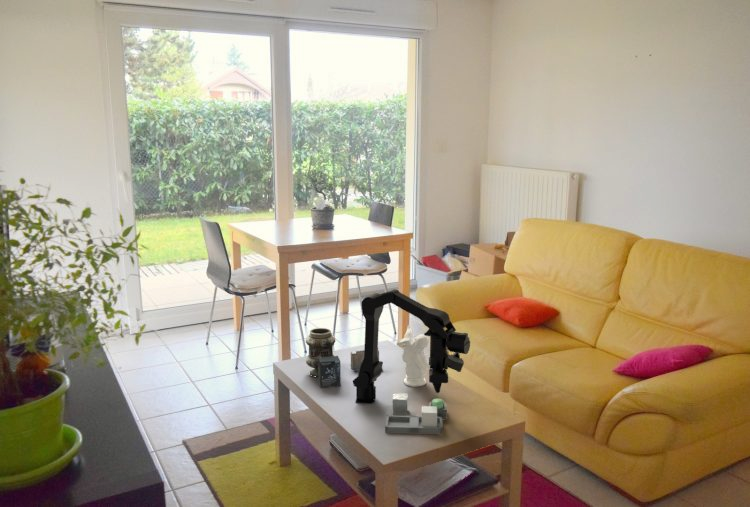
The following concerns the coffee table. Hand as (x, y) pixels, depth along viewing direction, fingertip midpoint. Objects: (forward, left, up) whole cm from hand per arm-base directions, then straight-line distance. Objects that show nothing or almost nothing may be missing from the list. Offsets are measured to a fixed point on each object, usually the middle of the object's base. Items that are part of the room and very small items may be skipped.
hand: (437, 392), depth 224 cm
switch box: (0, 0, -8) cm, 8 cm away
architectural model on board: (-29, +42, -9) cm, 52 cm away
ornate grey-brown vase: (-46, +35, -9) cm, 59 cm away
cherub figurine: (-10, +27, -9) cm, 30 cm away
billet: (-13, +1, -8) cm, 16 cm away
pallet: (-8, -10, -8) cm, 15 cm away
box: (-41, +24, -9) cm, 48 cm away
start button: (0, 0, -7) cm, 7 cm away
